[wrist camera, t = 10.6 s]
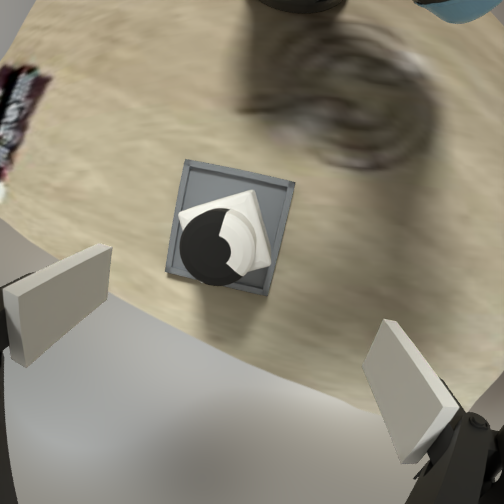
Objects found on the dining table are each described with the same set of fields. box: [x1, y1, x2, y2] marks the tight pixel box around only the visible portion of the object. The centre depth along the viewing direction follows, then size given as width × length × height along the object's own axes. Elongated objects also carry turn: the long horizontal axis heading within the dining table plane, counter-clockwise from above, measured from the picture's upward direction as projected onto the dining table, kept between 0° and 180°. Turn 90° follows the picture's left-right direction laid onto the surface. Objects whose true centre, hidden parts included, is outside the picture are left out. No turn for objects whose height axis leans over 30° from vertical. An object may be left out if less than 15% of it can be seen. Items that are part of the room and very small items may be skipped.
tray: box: [165, 159, 295, 296], centre depth 39 cm, size 14×14×1 cm
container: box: [178, 190, 271, 286], centre depth 32 cm, size 8×8×13 cm
